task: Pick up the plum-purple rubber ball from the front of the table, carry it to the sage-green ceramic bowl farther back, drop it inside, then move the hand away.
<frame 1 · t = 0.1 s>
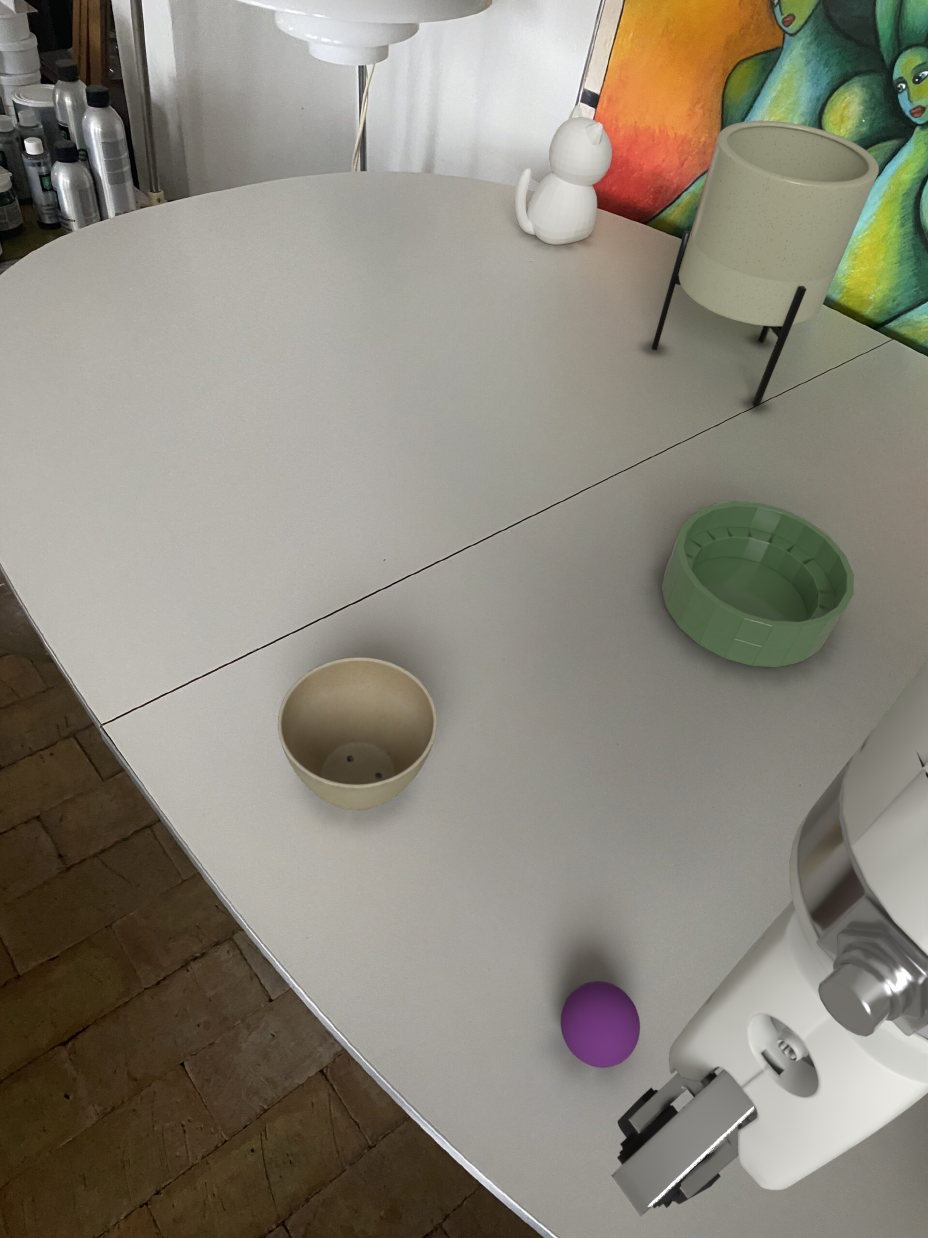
hand: (738, 1073, 34), 17 cm above the table, tool pointing down, fingers open, 9 cm apart
cat figurine: (552, 237, 117), on the table
bowl: (743, 605, 74), on the table
ball: (592, 1035, 50), on the table
flower pot: (358, 778, 60), on the table
planter: (719, 364, 100), on the table
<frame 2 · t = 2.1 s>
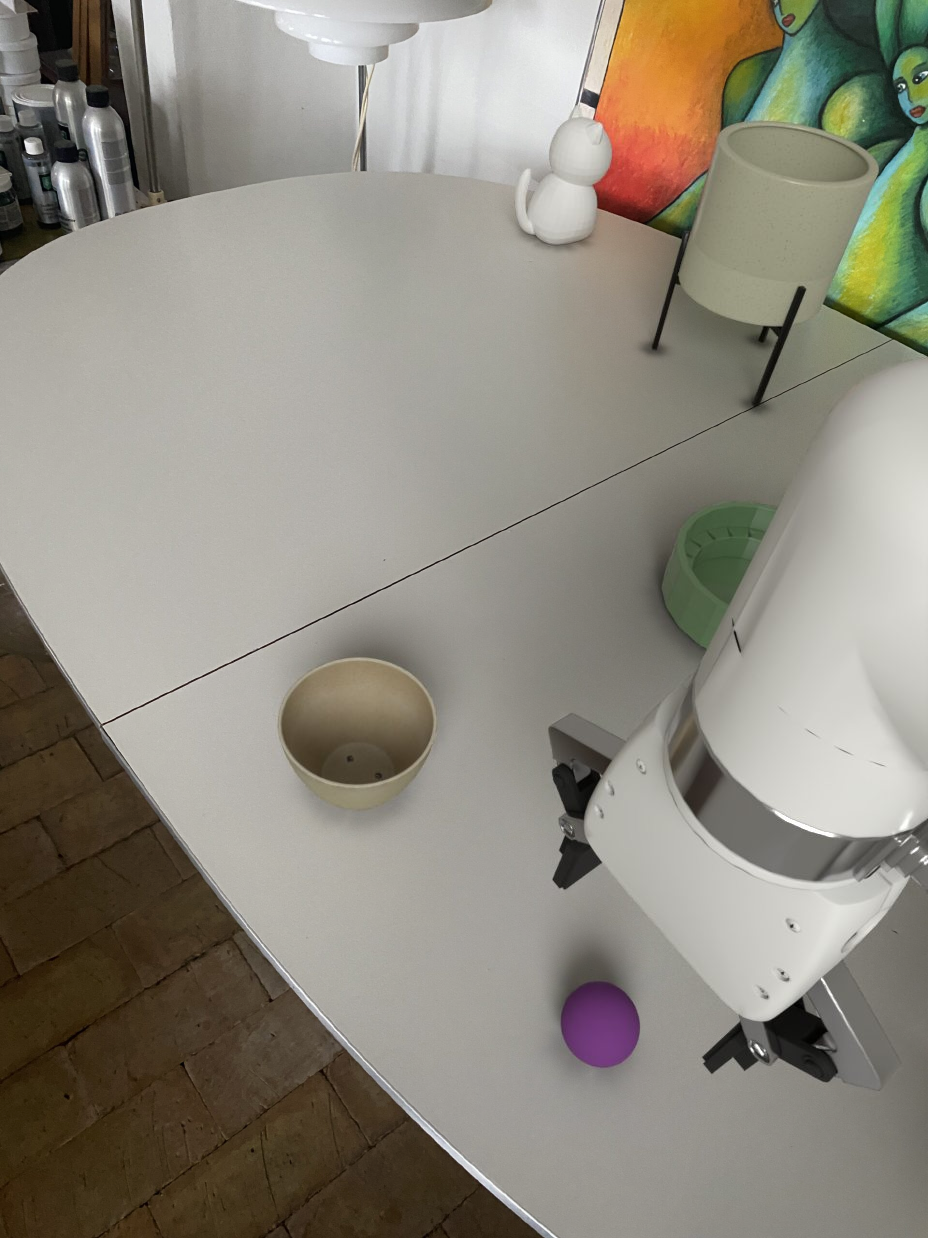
hand: (650, 952, 40), 14 cm above the table, tool pointing down, fingers open, 9 cm apart
nothing on the table moved.
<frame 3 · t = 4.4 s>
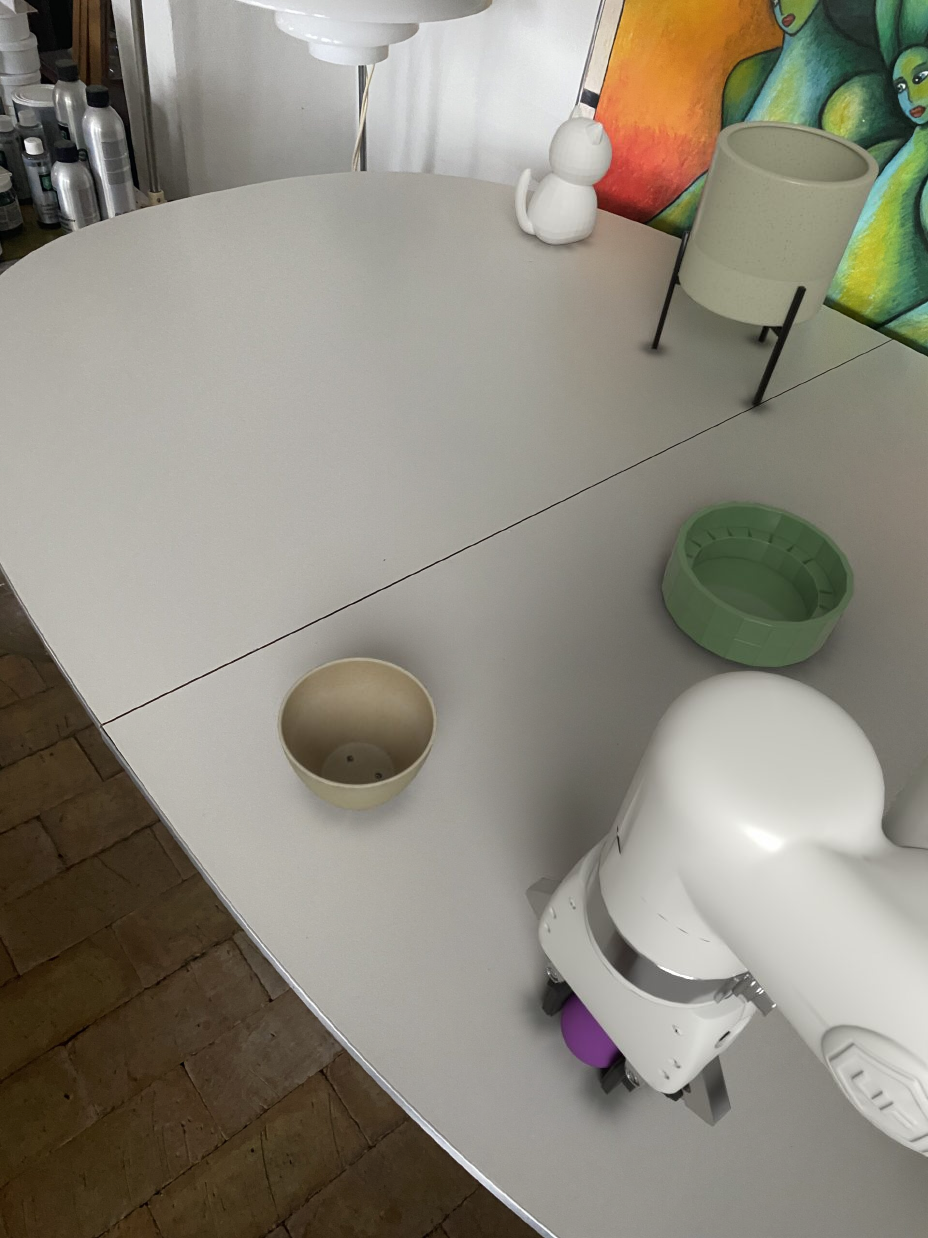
hand: (593, 1033, 50), 0 cm above the table, tool pointing down, fingers closed on ball, 4 cm apart
ball: (592, 1035, 50), on the table, touching gripper
everything else where it was.
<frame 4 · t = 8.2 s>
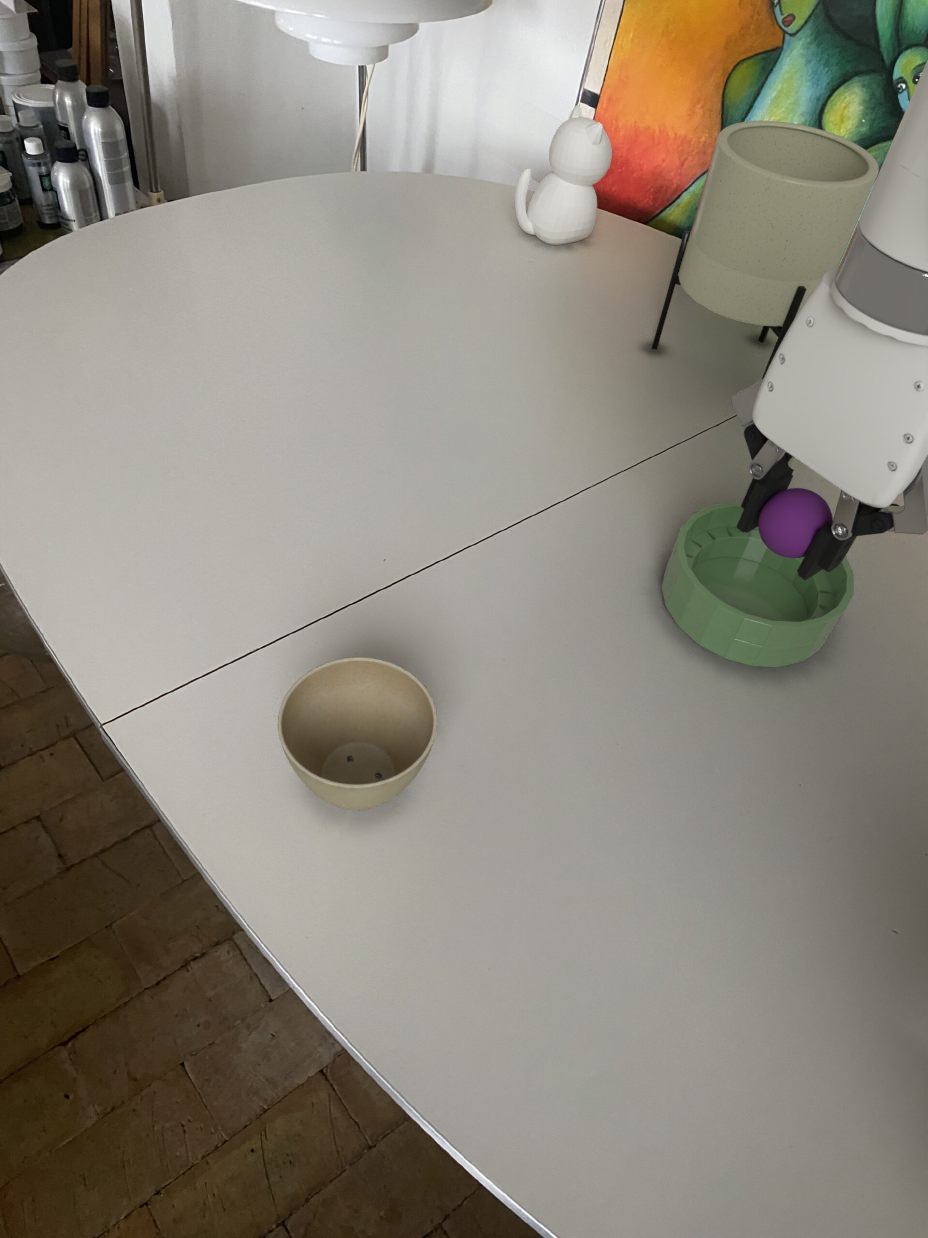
hand: (784, 543, 56), 16 cm above the table, tool pointing down, fingers closed on ball, 4 cm apart
ball: (782, 548, 57), point 15 cm above the table, touching gripper
everything else where it was.
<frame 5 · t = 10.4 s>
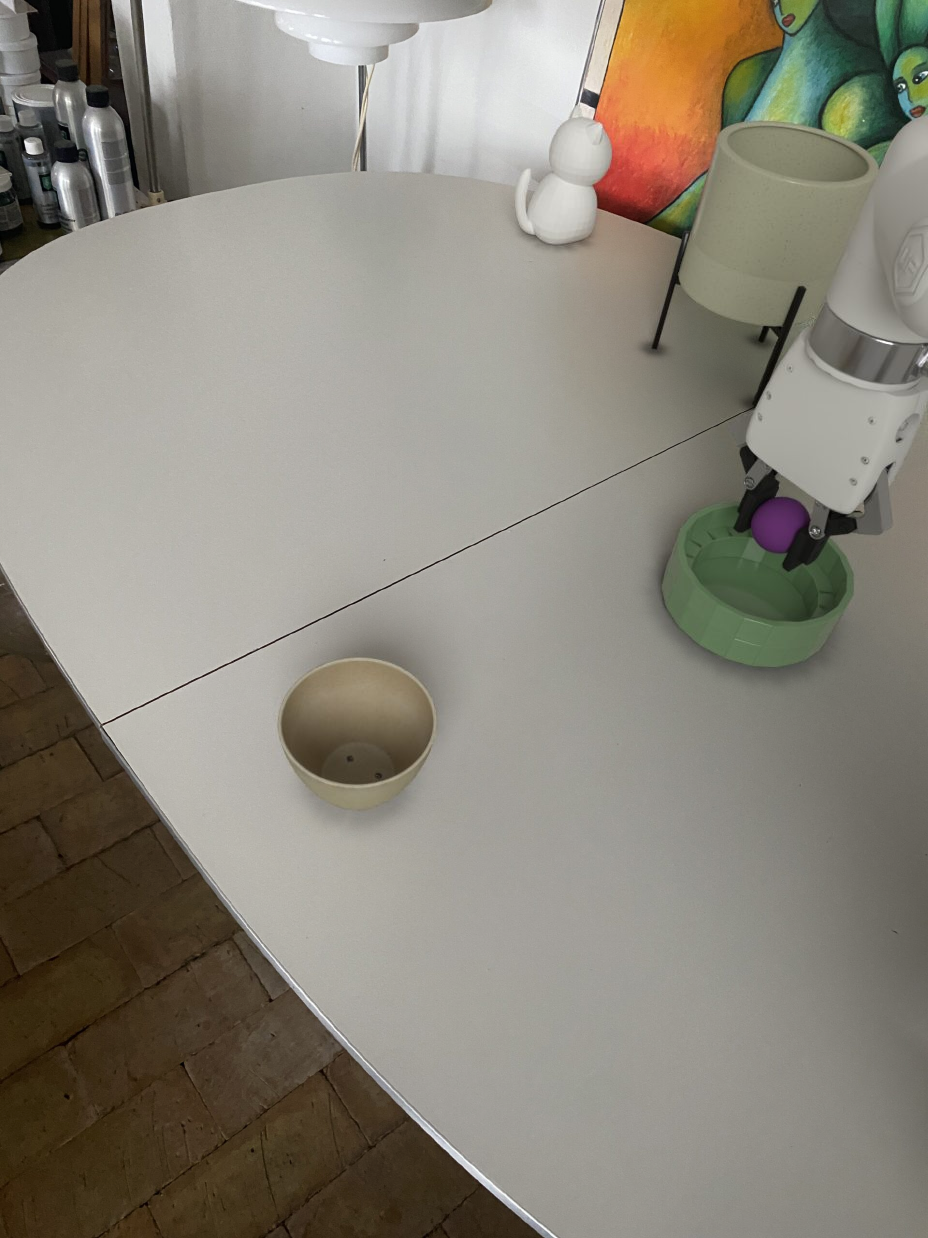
hand: (772, 542, 69), 7 cm above the table, tool pointing down, fingers closed on ball, 4 cm apart
ball: (770, 545, 69), point 7 cm above the table, touching gripper
everything else where it was.
when the fingers open (2 cm above the table, at t = 12.2 s): ball drops 1 cm, resting on bowl.
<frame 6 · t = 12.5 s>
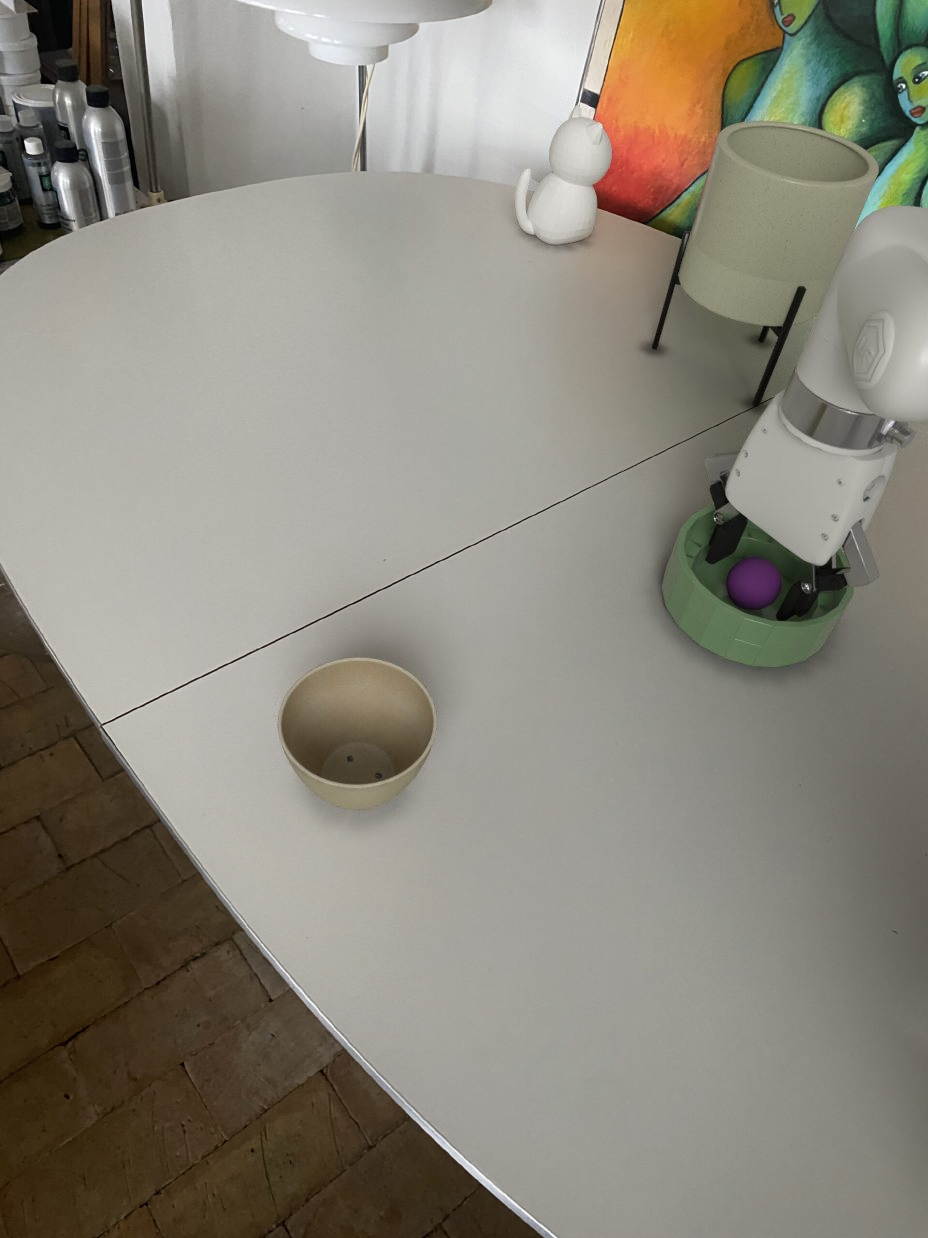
hand: (754, 583, 72), 3 cm above the table, tool pointing down, fingers open, 7 cm apart
ball: (745, 601, 74), point 1 cm above the table, touching bowl
everything else where it was.
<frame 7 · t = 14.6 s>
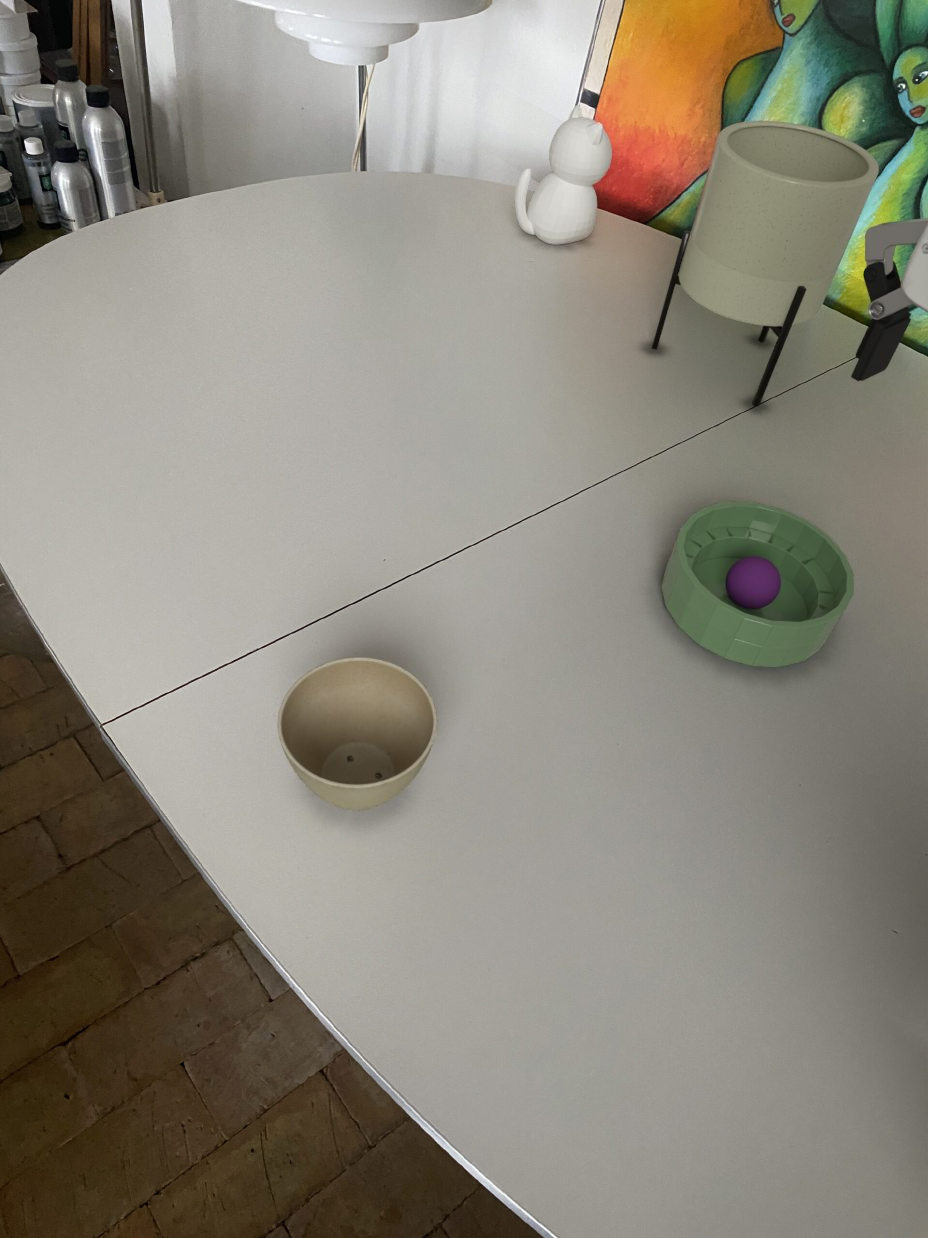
nothing on the table moved.
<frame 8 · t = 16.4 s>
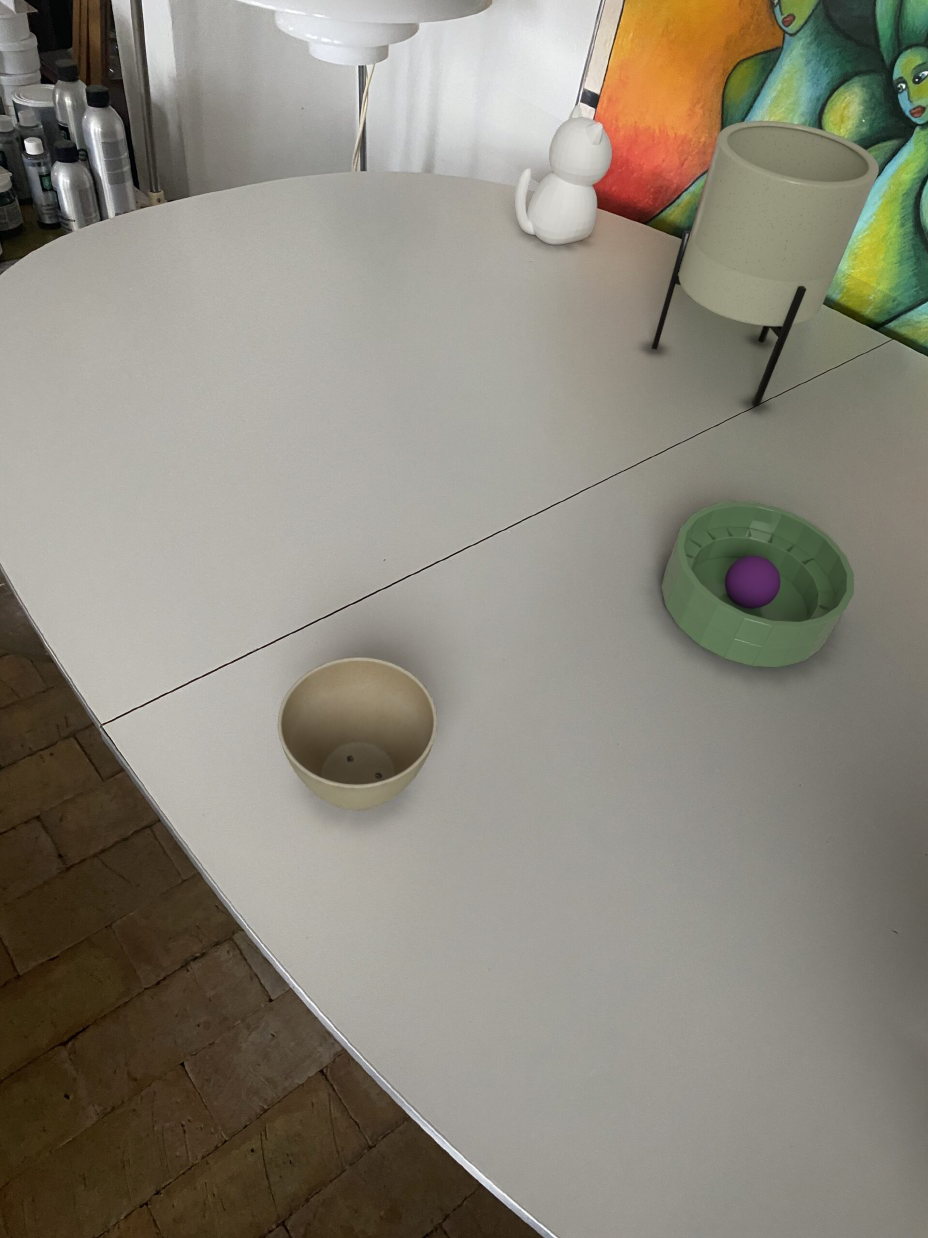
nothing on the table moved.
at the end: ball inside the target area in the bowl (0.1 cm from its centre), point 0.6 cm above the bowl's base; the gripper is holding nothing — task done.
